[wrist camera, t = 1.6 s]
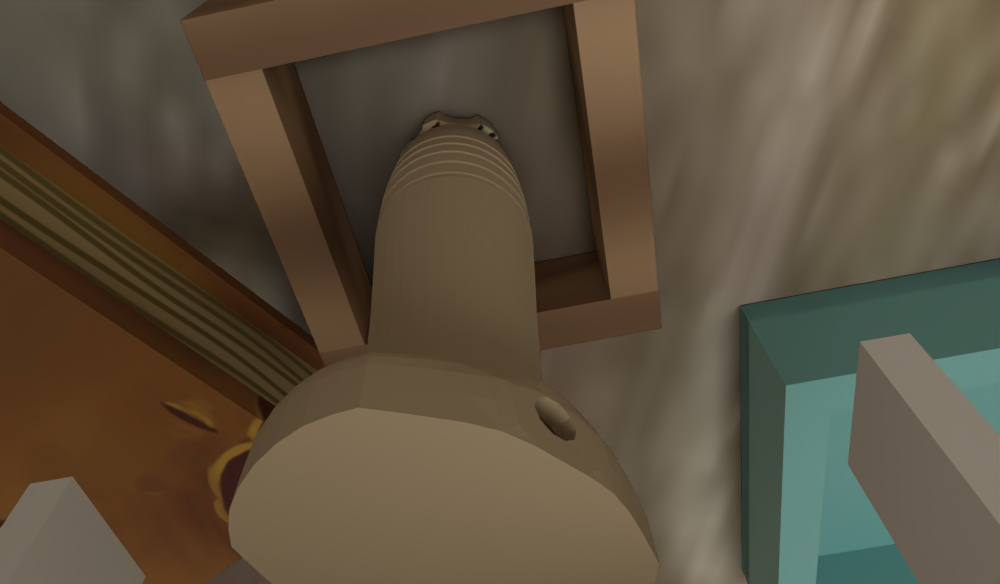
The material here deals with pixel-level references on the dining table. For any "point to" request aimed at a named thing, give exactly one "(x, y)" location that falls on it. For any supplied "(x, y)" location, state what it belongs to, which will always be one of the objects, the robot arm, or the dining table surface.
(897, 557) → the parts tray
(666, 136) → the dining table surface
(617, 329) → the socket
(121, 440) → the diary
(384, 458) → the handle
